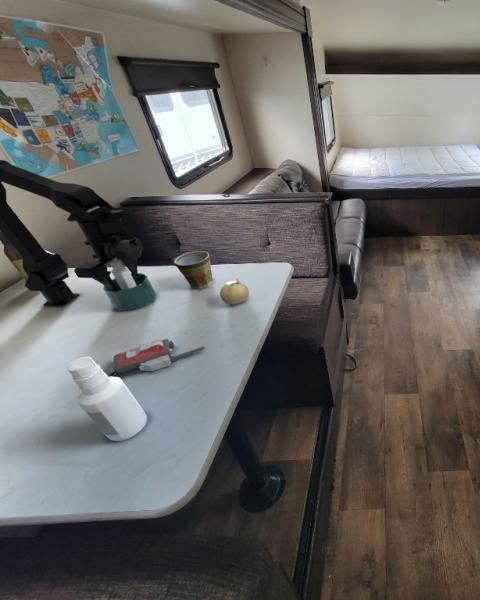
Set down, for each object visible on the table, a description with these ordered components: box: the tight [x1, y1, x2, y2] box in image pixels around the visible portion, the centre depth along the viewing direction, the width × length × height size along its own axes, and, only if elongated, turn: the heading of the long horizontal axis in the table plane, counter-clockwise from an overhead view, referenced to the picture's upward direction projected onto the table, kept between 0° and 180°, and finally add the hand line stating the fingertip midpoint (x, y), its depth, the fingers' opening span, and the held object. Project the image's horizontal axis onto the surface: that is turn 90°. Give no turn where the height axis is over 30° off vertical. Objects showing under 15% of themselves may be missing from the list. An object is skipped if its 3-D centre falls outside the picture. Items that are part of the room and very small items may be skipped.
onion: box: [219, 277, 250, 306], centre depth 103 cm, size 8×8×7 cm
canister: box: [102, 272, 157, 312], centre depth 104 cm, size 11×11×7 cm
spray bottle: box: [66, 356, 148, 442], centre depth 63 cm, size 7×7×18 cm
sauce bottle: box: [0, 231, 28, 282], centre depth 109 cm, size 7×6×20 cm
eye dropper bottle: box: [109, 259, 137, 290], centre depth 100 cm, size 4×6×12 cm
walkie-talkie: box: [108, 338, 206, 378], centre depth 83 cm, size 9×4×20 cm
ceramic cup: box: [171, 250, 214, 290], centre depth 111 cm, size 13×10×10 cm
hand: (125, 283), depth 102 cm, fingers closed on eye dropper bottle, 8 cm apart
